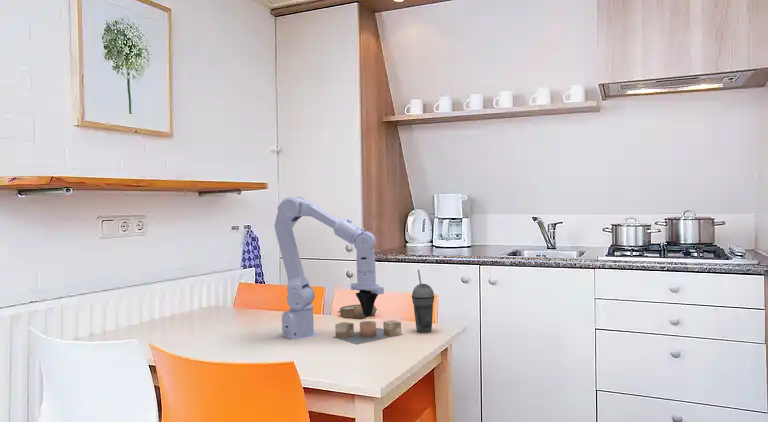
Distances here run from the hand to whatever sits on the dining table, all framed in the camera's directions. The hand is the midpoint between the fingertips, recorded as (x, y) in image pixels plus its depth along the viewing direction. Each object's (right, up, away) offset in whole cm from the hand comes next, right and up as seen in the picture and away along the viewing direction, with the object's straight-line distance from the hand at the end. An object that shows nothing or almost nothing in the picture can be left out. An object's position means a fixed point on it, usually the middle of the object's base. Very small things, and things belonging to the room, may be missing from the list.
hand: (367, 315), depth 183 cm
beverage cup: (+18, -7, +4) cm, 19 cm away
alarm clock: (-4, -7, +35) cm, 35 cm away
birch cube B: (+8, -6, 0) cm, 10 cm away
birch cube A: (-7, -7, 0) cm, 10 cm away
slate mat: (0, -7, 0) cm, 7 cm away
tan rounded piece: (0, -6, 0) cm, 6 cm away
